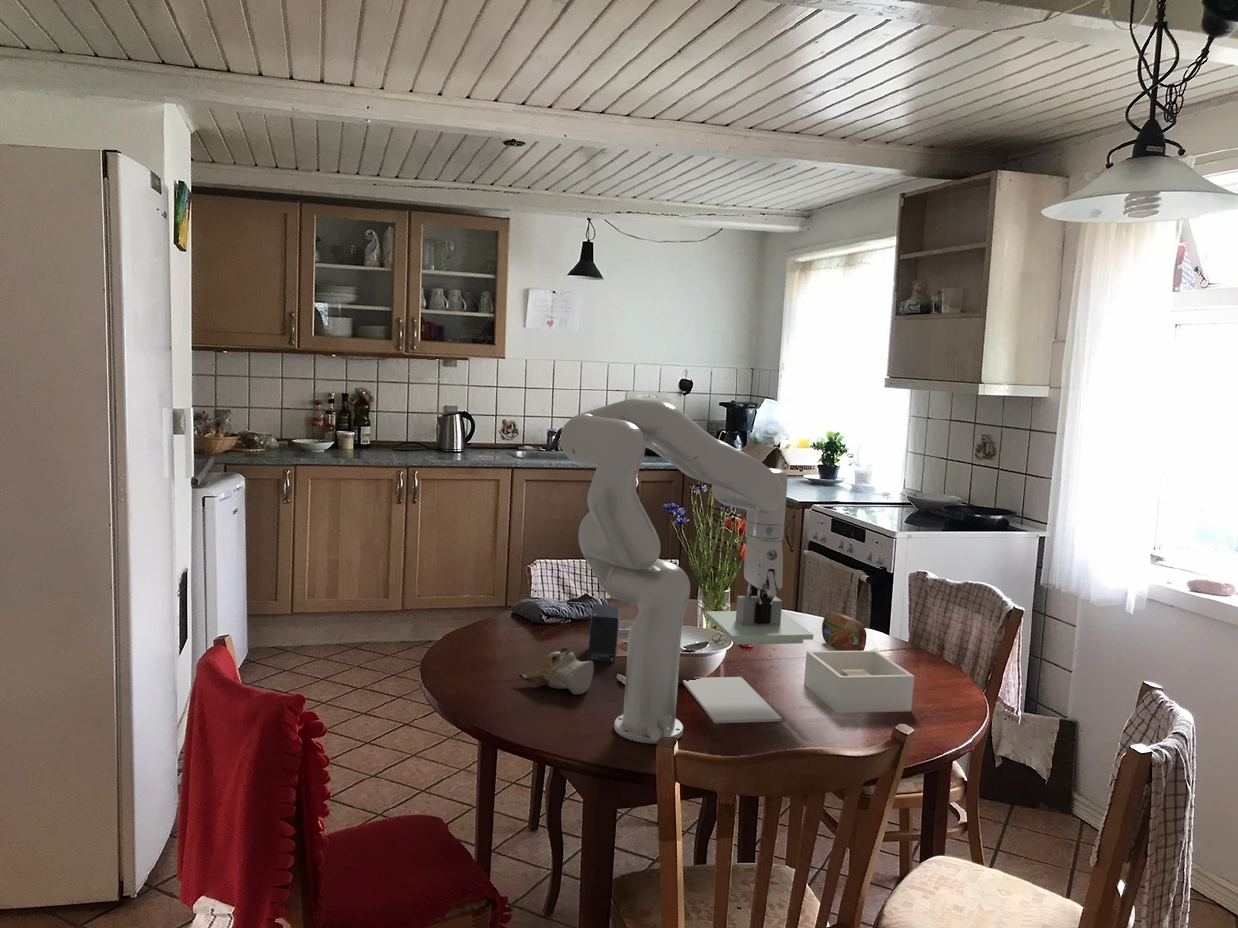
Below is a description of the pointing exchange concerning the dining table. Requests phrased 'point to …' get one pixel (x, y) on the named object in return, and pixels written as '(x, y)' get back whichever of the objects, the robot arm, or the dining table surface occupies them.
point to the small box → (603, 633)
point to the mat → (731, 700)
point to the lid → (748, 632)
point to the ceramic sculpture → (562, 672)
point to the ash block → (854, 672)
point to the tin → (843, 632)
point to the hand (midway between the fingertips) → (758, 619)
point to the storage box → (858, 682)
